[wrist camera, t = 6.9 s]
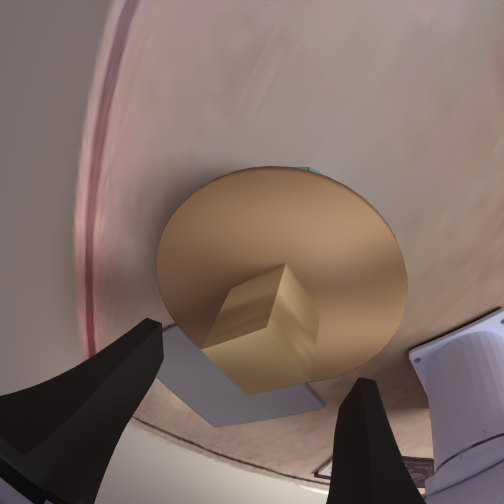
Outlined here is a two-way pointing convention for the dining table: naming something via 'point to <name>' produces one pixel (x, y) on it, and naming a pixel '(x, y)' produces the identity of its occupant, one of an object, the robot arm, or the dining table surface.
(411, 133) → the dining table surface
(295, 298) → the lid
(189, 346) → the mat
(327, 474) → the chocolate bar
